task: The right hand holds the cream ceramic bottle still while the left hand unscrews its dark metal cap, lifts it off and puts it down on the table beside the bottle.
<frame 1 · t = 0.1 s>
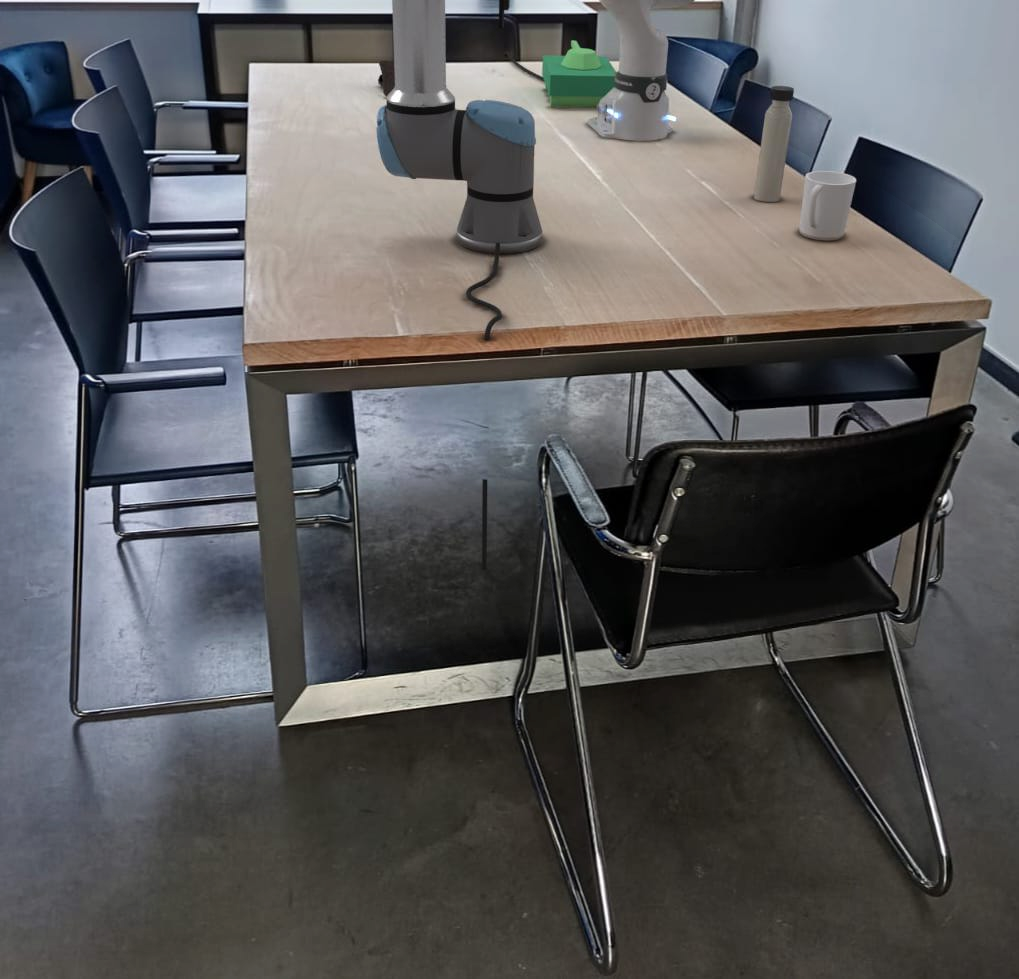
left hand: (468, 26, 224), 28 cm above the table, tool pointing down, fingers open, 13 cm apart
toy tank: (576, 96, 300), on the table
cap: (782, 89, 210), point 21 cm above the table, screwed on, not yet turned
mug: (818, 235, 202), on the table
axe head: (403, 91, 300), on the table
bottle: (766, 198, 221), on the table
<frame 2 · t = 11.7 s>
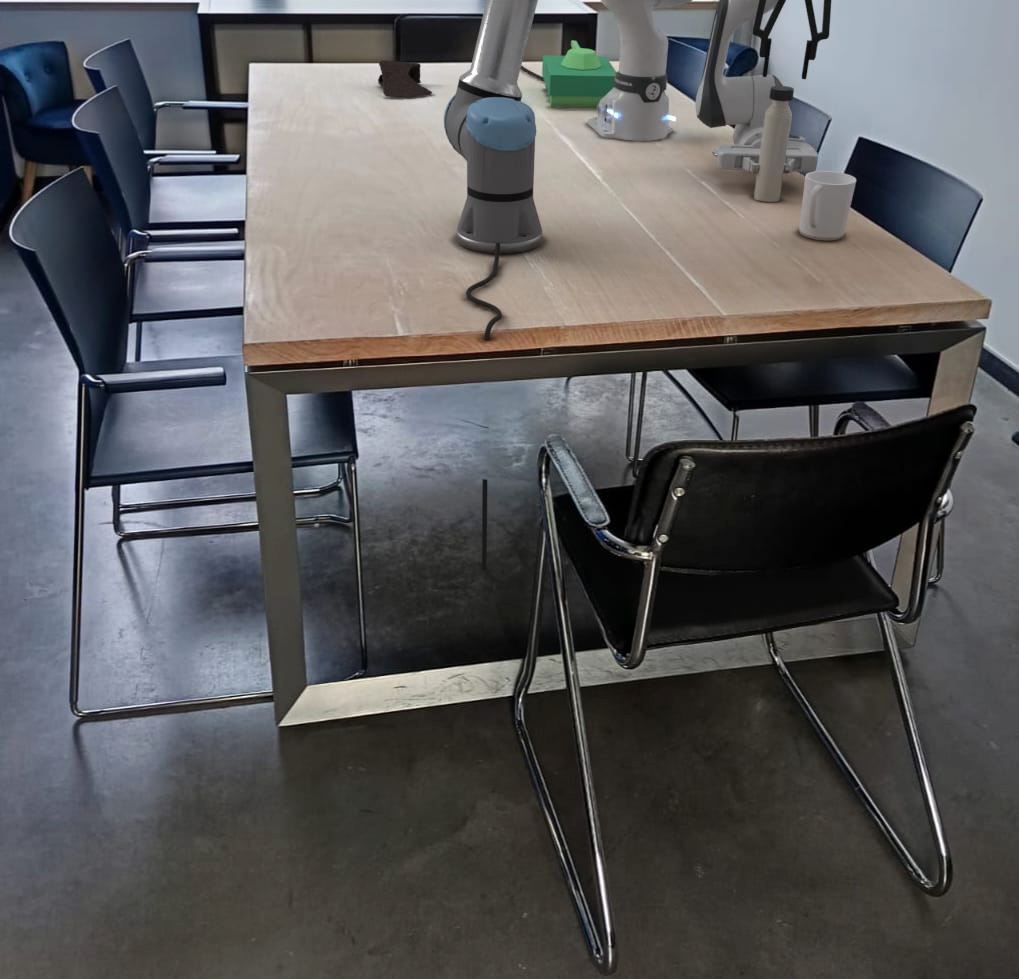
left hand: (784, 76, 209), 23 cm above the table, tool pointing down, fingers open, 7 cm apart
right hand: (771, 169, 217), 6 cm above the table, tool horizontal, fingers closed on bottle, 5 cm apart
bottle: (766, 198, 221), on the table, touching right hand
everything else where it was.
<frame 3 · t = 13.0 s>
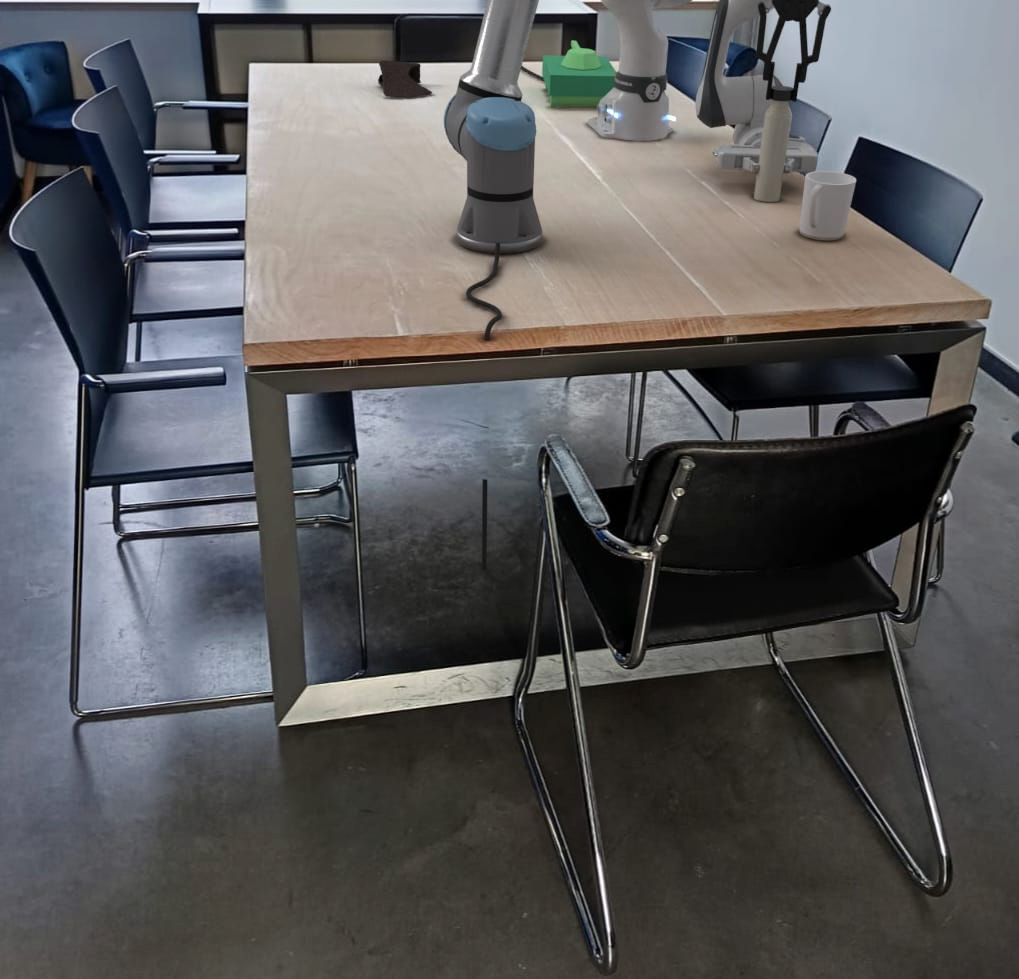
left hand: (780, 98, 211), 19 cm above the table, tool pointing down, fingers closed on cap, 4 cm apart
right hand: (771, 169, 217), 6 cm above the table, tool horizontal, fingers closed on bottle, 5 cm apart
cap: (782, 89, 210), point 21 cm above the table, screwed on, not yet turned, touching left hand
bottle: (766, 198, 221), on the table, touching right hand
everything else where it was.
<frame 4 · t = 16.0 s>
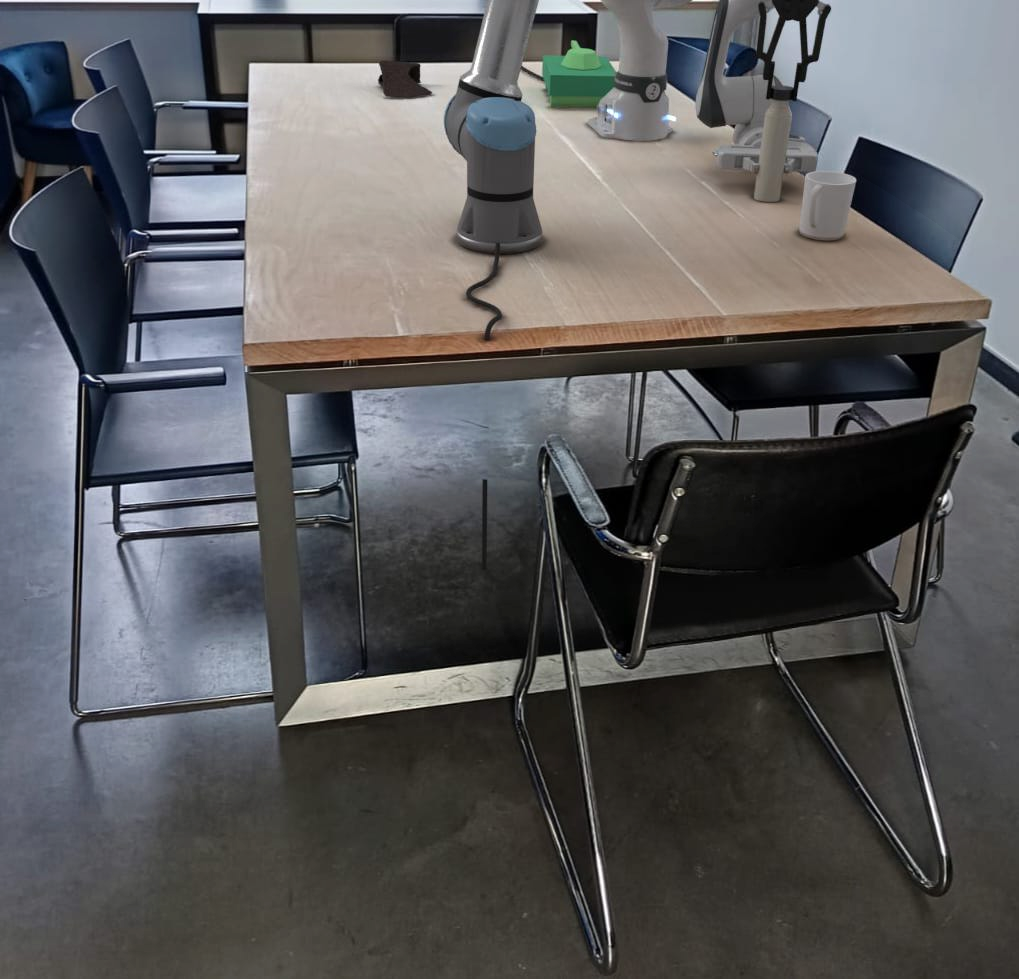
left hand: (781, 98, 211), 19 cm above the table, tool pointing down, fingers closed on cap, 4 cm apart
right hand: (772, 169, 217), 6 cm above the table, tool horizontal, fingers closed on bottle, 5 cm apart
cap: (782, 89, 210), point 21 cm above the table, turned 87° so far, risen 0.1 cm, still on its thread, touching left hand
bottle: (766, 198, 221), on the table, touching right hand
everything else where it was.
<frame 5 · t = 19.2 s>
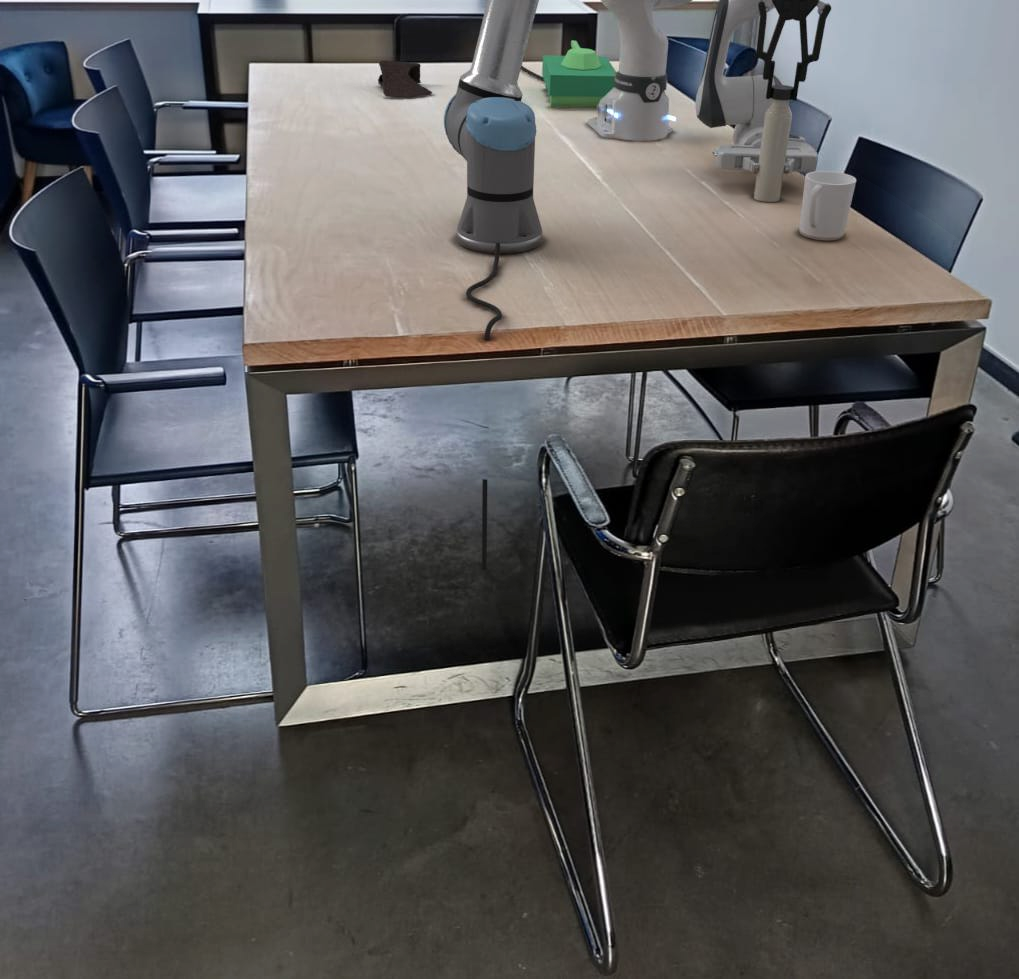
left hand: (781, 98, 211), 20 cm above the table, tool pointing down, fingers closed on cap, 4 cm apart
right hand: (772, 169, 217), 6 cm above the table, tool horizontal, fingers closed on bottle, 5 cm apart
cap: (782, 88, 210), point 21 cm above the table, turned 175° so far, risen 0.2 cm, still on its thread, touching left hand
bottle: (766, 198, 221), on the table, touching right hand
everything else where it was.
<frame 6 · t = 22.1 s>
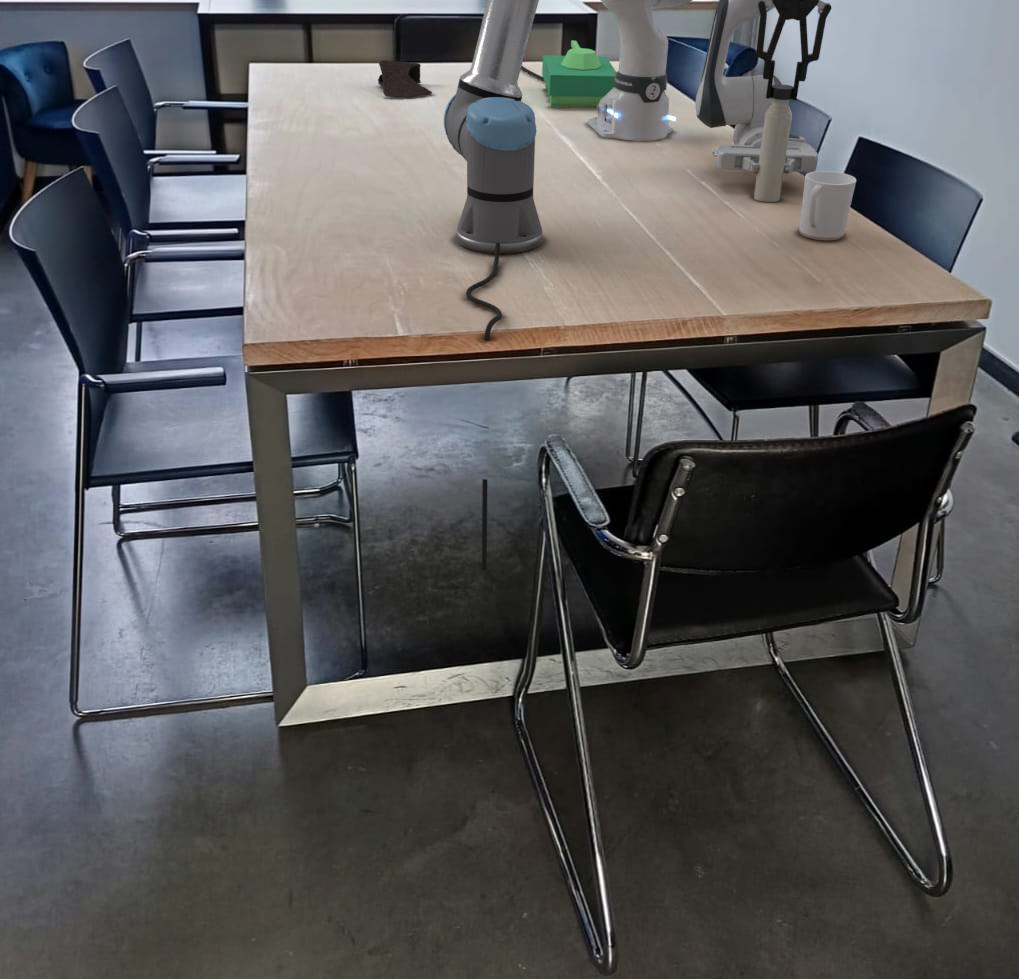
left hand: (781, 97, 211), 20 cm above the table, tool pointing down, fingers closed on cap, 4 cm apart
right hand: (772, 169, 217), 6 cm above the table, tool horizontal, fingers closed on bottle, 5 cm apart
cap: (782, 88, 210), point 21 cm above the table, turned 262° so far, risen 0.2 cm, still on its thread, touching left hand
bottle: (766, 198, 221), on the table, touching right hand
everything else where it was.
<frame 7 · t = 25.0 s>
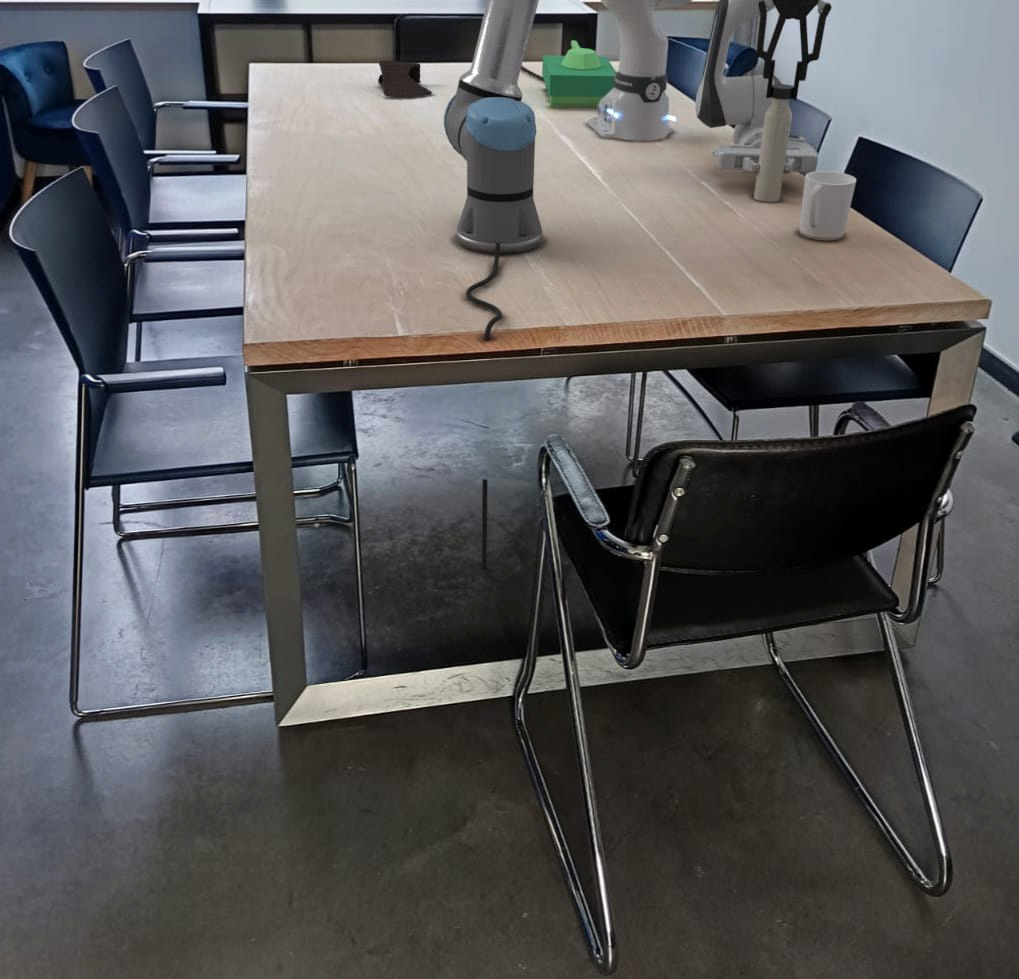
left hand: (781, 97, 211), 20 cm above the table, tool pointing down, fingers closed on cap, 4 cm apart
right hand: (772, 169, 217), 6 cm above the table, tool horizontal, fingers closed on bottle, 5 cm apart
cap: (782, 87, 210), point 21 cm above the table, turned 349° so far, risen 0.3 cm, still on its thread, touching left hand
bottle: (766, 198, 221), on the table, touching right hand
everything else where it was.
when the left hand's fingers open (1 cm above the table, at t = 34.3 s): cap drops 1 cm, point 2 cm above the table.
when the right hand's fingers open (6 cm above the table, at t = 35.7 s): bottle stays where it is, on the table.
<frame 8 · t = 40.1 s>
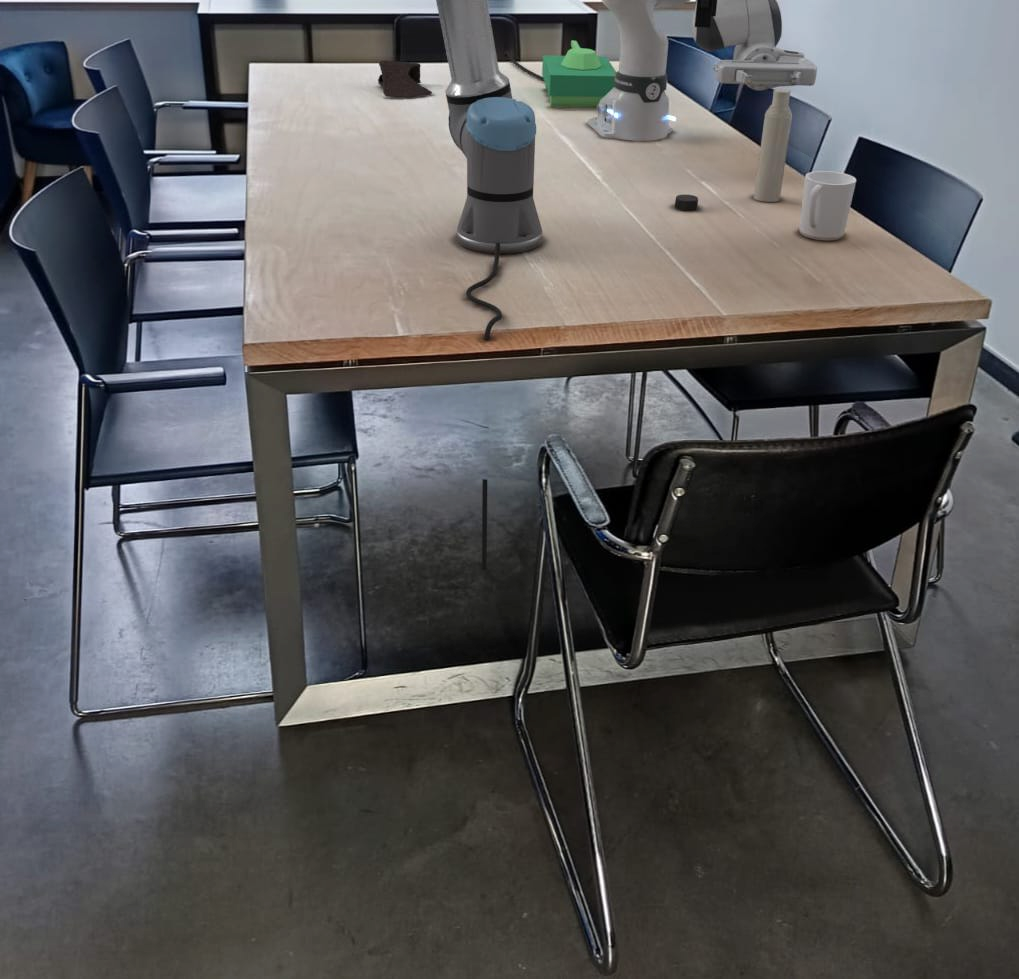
left hand: (705, 21, 197), 34 cm above the table, tool pointing down, fingers open, 13 cm apart
right hand: (771, 80, 221), 20 cm above the table, tool horizontal, fingers open, 8 cm apart
cap: (686, 199, 214), point 2 cm above the table, off its thread
bottle: (766, 198, 221), on the table
everything else where it was.
at the end: cap came off its thread; cap point 1.7 cm above the table; the left hand is holding nothing; the right hand is holding nothing; bottle tilted 0°; bottle moved 0.0 cm from its start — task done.
